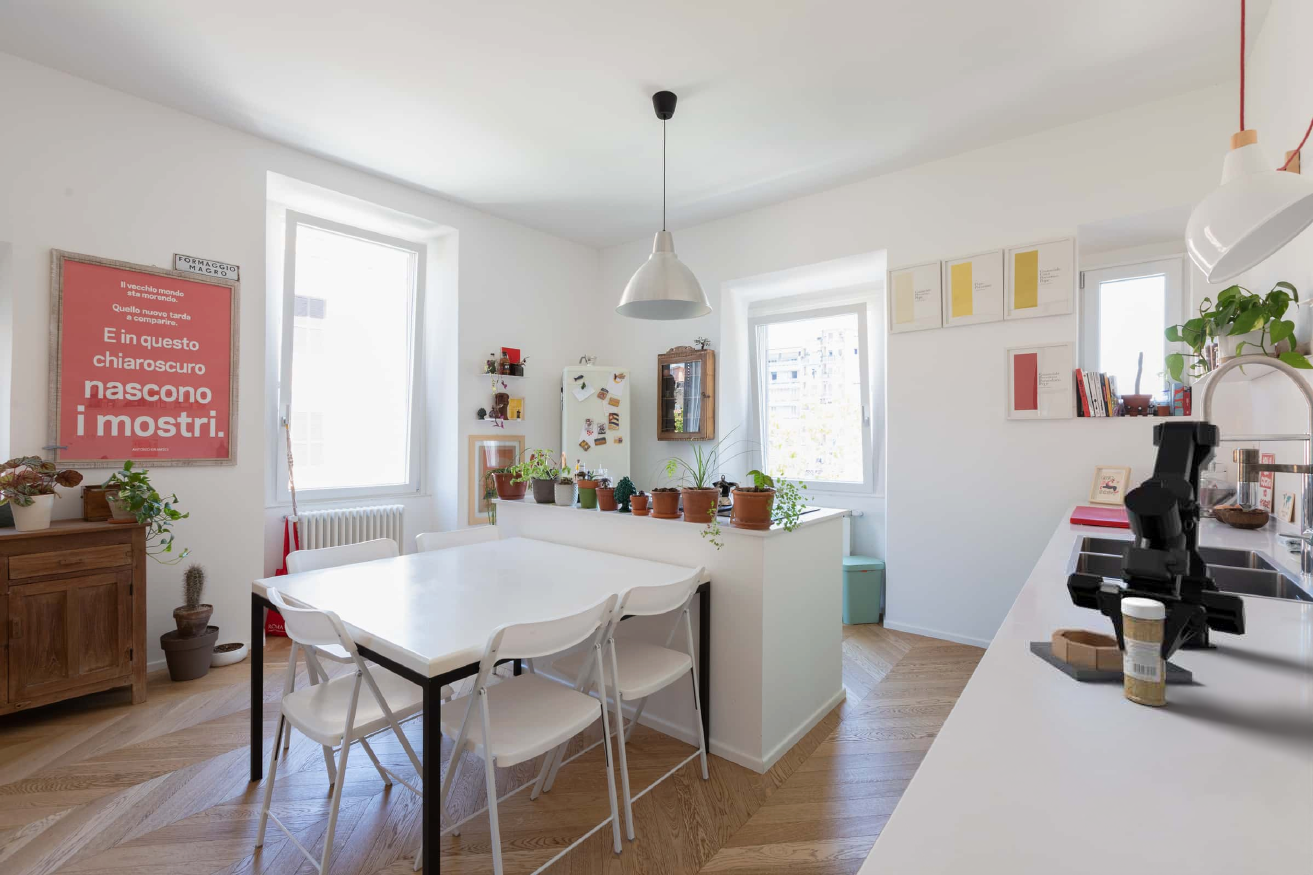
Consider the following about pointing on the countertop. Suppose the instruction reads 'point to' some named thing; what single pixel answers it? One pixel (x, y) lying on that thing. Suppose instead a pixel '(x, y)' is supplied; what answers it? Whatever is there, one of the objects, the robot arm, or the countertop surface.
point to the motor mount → (1093, 657)
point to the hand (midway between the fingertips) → (1142, 653)
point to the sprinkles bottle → (1144, 651)
